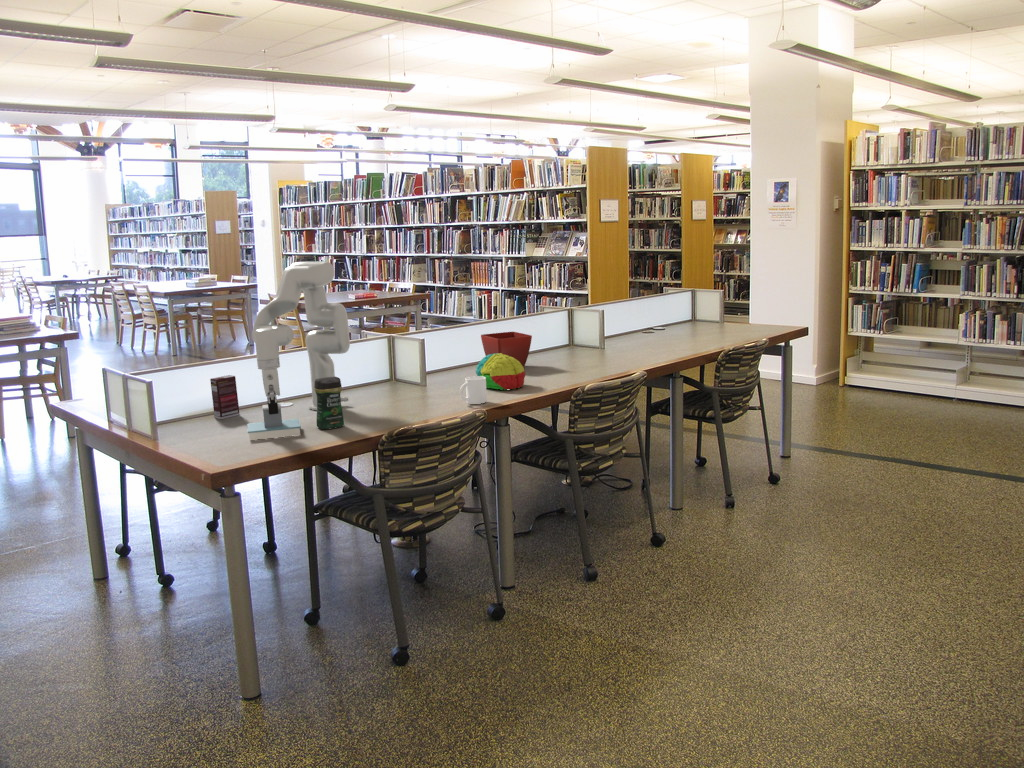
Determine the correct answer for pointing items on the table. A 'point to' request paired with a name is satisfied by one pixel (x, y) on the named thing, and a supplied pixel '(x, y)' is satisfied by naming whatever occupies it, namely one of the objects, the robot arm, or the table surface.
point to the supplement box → (224, 397)
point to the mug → (474, 390)
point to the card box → (272, 417)
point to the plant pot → (508, 345)
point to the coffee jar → (329, 402)
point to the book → (274, 429)
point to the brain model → (501, 372)
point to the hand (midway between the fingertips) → (273, 410)
